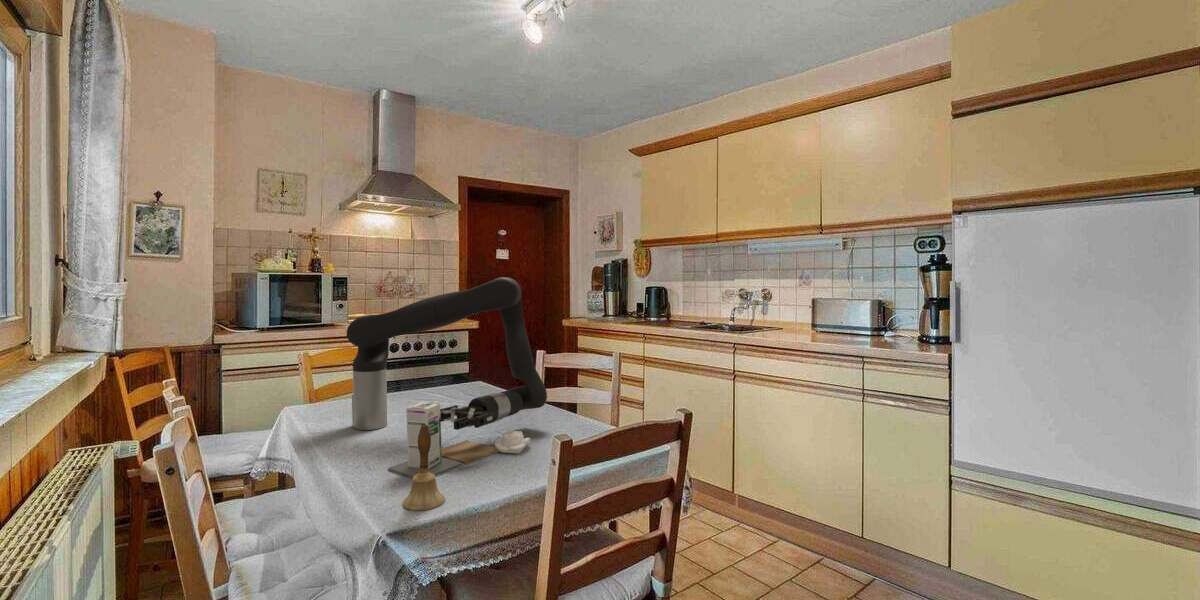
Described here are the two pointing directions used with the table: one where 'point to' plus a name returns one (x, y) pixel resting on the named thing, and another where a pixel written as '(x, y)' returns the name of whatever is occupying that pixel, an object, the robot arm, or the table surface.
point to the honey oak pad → (467, 451)
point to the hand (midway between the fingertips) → (442, 422)
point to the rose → (511, 442)
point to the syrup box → (415, 419)
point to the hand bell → (423, 479)
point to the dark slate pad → (436, 469)
